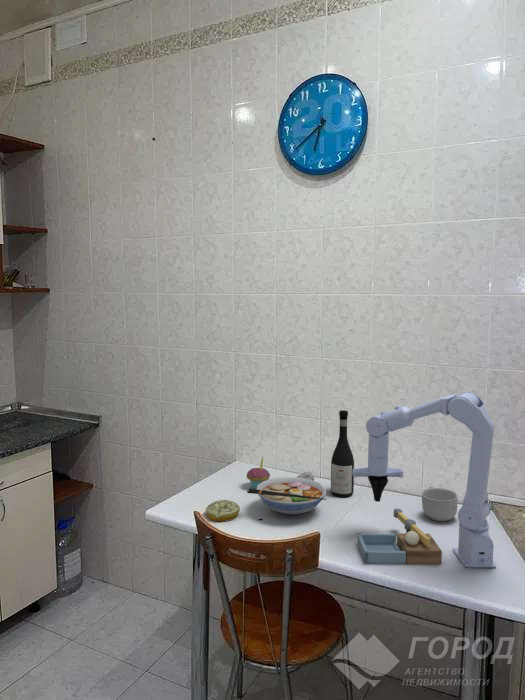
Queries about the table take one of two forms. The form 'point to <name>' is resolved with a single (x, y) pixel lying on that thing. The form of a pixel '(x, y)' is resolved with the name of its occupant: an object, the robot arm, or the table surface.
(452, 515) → the teacup
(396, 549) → the shallow square tray
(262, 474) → the cupcake
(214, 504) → the decorated donut
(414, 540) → the ball
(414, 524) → the lever
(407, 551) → the block
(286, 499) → the ramen bowl
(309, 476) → the frog figurine
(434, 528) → the table surface
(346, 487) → the wine bottle
